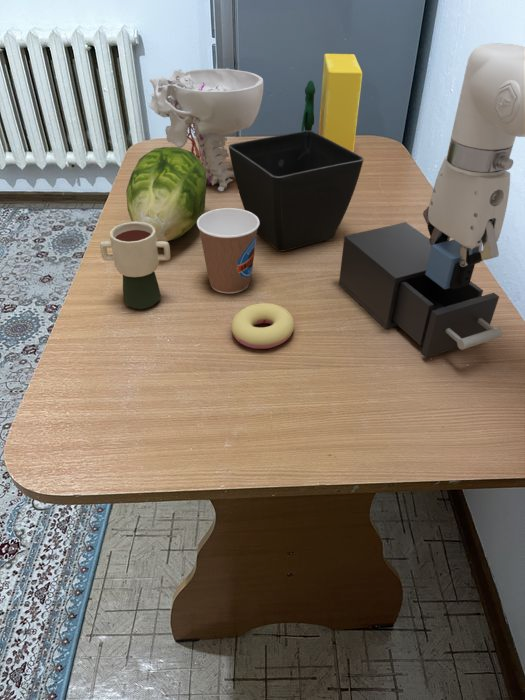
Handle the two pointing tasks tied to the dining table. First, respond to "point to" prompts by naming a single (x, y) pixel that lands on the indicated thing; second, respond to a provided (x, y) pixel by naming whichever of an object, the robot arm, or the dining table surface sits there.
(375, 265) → the dark grey drawer cabinet
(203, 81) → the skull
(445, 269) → the block
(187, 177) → the lettuce
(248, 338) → the donut
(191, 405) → the dining table surface
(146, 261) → the character mug
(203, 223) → the coffee cup
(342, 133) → the yellow and green pieces
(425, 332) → the dark grey drawer
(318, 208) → the flower pot
